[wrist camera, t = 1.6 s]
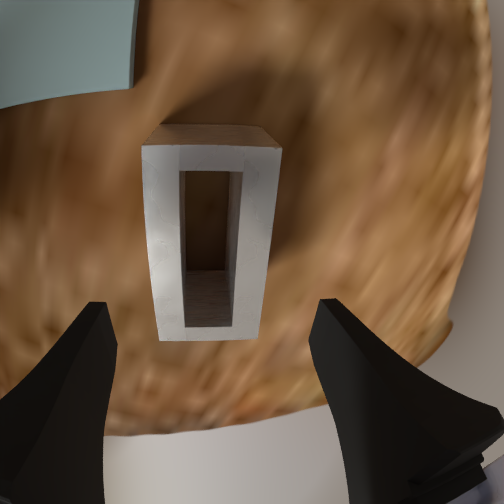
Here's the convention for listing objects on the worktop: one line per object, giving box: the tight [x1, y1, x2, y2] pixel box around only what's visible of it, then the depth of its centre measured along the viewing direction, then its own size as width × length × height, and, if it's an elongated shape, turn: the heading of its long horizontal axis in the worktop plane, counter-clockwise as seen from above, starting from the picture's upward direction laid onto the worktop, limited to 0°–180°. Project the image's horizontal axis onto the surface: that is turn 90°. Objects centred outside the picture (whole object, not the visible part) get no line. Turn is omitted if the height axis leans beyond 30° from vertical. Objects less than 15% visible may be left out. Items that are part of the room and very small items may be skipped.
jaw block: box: [142, 124, 282, 341], centre depth 16 cm, size 5×10×5 cm, turn 175°
